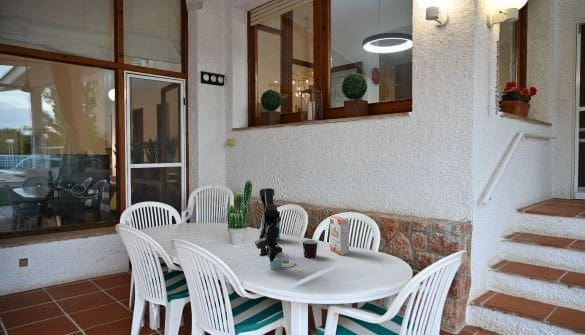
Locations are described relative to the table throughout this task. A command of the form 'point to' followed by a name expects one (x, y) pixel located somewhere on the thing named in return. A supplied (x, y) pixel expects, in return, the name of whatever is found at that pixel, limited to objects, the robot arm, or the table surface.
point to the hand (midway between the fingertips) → (271, 262)
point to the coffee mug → (310, 248)
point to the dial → (281, 263)
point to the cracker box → (339, 235)
